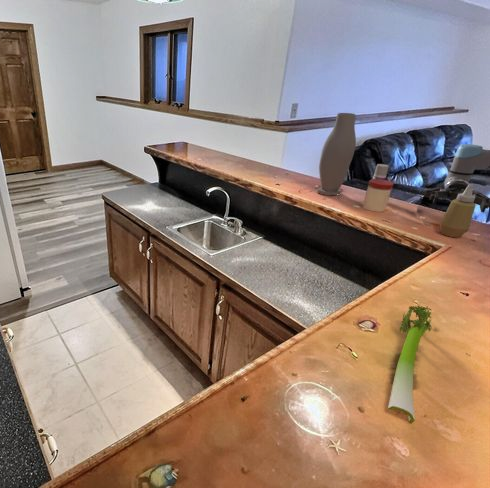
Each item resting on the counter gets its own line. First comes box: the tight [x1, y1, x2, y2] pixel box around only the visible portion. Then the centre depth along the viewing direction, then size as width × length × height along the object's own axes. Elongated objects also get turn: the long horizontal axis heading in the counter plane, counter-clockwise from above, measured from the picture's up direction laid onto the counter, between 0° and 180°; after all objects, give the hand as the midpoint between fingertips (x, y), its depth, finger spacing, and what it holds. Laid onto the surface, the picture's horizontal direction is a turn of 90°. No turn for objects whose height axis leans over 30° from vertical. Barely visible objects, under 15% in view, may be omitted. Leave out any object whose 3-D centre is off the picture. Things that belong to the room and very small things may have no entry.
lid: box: [368, 178, 395, 190], centre depth 141 cm, size 8×8×2 cm
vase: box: [316, 112, 357, 196], centre depth 155 cm, size 13×13×35 cm
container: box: [372, 163, 390, 180], centre depth 153 cm, size 5×5×15 cm
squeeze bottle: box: [439, 183, 477, 239], centre depth 118 cm, size 8×8×18 cm
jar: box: [362, 184, 393, 213], centre depth 143 cm, size 8×8×10 cm
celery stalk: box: [387, 305, 433, 424], centre depth 67 cm, size 6×7×30 cm
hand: (459, 204), depth 121 cm, fingers open, 13 cm apart
